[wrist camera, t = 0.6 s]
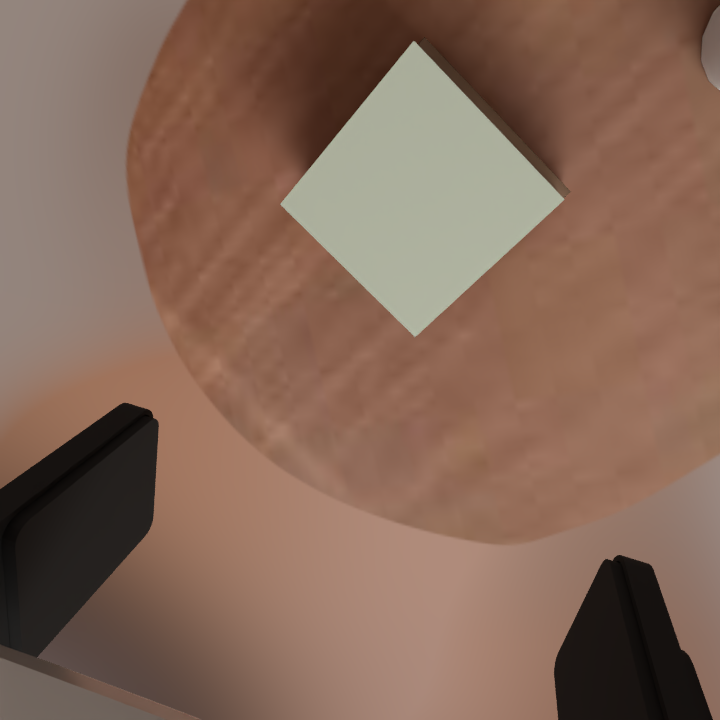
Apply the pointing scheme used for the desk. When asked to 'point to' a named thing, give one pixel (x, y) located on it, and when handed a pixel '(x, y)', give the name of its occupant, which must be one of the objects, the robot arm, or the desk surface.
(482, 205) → the tower top
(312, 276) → the desk surface
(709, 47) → the white coffee cup
